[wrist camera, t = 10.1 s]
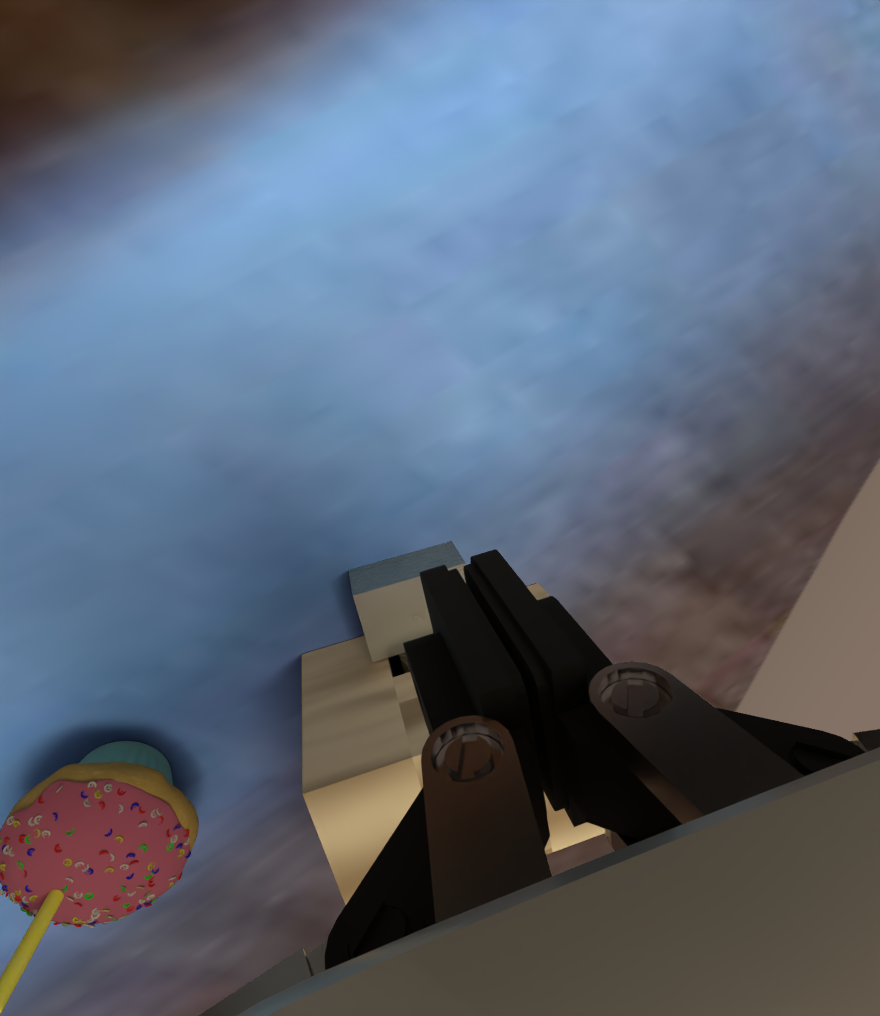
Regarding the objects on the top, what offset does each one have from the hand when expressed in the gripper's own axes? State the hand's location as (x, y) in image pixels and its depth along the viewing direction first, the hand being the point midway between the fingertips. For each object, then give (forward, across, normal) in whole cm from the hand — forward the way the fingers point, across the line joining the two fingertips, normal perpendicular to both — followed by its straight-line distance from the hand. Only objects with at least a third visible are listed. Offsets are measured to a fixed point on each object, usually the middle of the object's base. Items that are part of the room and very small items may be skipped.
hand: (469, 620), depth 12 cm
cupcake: (+18, +17, +16) cm, 30 cm away
